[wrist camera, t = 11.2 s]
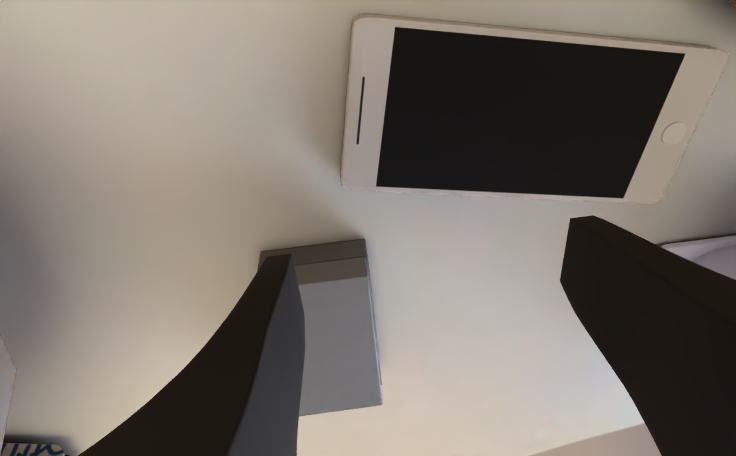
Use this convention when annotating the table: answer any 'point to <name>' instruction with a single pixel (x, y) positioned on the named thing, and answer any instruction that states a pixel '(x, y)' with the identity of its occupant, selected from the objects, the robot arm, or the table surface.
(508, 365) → the table surface
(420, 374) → the table surface
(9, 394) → the flower arrangement
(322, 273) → the grey stack
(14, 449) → the handgun
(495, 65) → the smartphone
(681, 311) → the robot arm
